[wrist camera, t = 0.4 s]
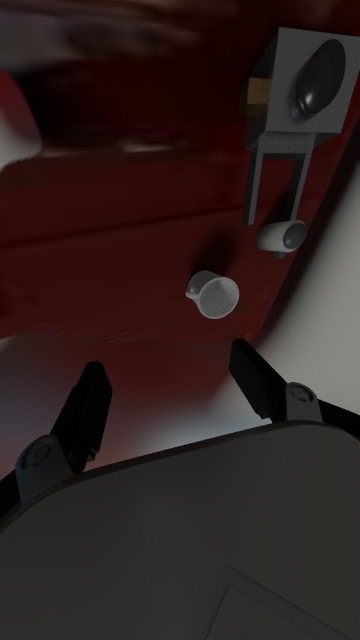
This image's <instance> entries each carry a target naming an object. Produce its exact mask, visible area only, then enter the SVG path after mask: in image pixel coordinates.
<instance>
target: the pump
mask: <svg viewBox="0 0 360 640" xmlns="http://www.w3.org/2000/svg"><path fill="white" fill-rule="evenodd" d="M306 234H307V228H306V226H305V224H304V222H303V221H301V220H293V221H285V222H278V223H270V224H265V225H263V226H262V227H261V228H260V229H259V230H258V232H257V234H256V236H255V244H256V246H257V248H258V249H260V250H269V251H274V254H273V258H276V259H280V258H284V257H285V253H286V252H291V251H294V250H295V249H297V248H298V247H299V246H300V245H301V244H302V243H303V241H304V240H305V238H306Z"/></svg>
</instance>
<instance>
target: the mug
mask: <svg viewBox="0 0 360 640" xmlns="http://www.w3.org/2000/svg"><path fill="white" fill-rule="evenodd" d="M186 296H187V297H189V298H192V299H193V300H194V301H195V303H196V304H197V306H198V308H199V310H200V312H201V313H202V314H203V315H204V316H206V317H208V318H212V319H215V318H221V317H224V316H225V315H227V314H229V313H230V312H231V311H232V310H233V309H234V307H235V306H236V304H237V302H238V298H239V290H238V287H237V285H236V284H235V282H234V281H232V280H231V279H229V278H226V277H222V276H220V275H217V274H215V273H213V272H210V271H207V270H202V271H199V272H197V273H195V274H194V275H193V276H192V277H191V279H190V281H189V284H188V288H187V291H186Z"/></svg>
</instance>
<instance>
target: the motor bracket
mask: <svg viewBox="0 0 360 640" xmlns="http://www.w3.org/2000/svg"><path fill="white" fill-rule="evenodd" d="M359 70H360V37H354V36H346V35H339V34H331V33H323V32H315V31H307V30H299V29H291V28H283V27H279V29H278V30H277V32H276V34H275V35H274V37H273V38H272V40H271V42H270V43H269V45H268V46H267V48H266V50H265V51H264V53H263V55H262V56H261V58H260V59H259V61H258V63H257V64H256V66H255V67H254V69H253V71H252V72H251V78H249V79H248V81H247V82H246V84H245V85H244V87H243V89H242V90H241V92H240V104H239V115H247V124H246V134H245V144H244V151H250V157H249V166H248V175H247V184H246V193H245V202H244V211H243V220H242V226H243V225H252V224H253V222H254V215H255V208H256V201H257V194H258V187H259V180H260V173H261V166H262V159H295V162H294V167H293V171H292V176H291V180H290V185H289V190H288V194H287V199H286V204H285V208H284V213H283V218H282V222H285V221H293V220H295V218H296V214H297V210H298V206H299V202H300V198H301V194H302V190H303V186H304V182H305V178H306V174H307V170H308V166H309V162H310V158H311V154H312V150H313V148H314V147H316V146H318V145H319V144H321V143H323V142H325V141H327V140H328V139H330V138H332V137H334V136H336V135H337V134H339V133H341V129H342V126H343V123H344V119H345V116H346V113H347V109H348V106H349V103H350V99H351V96H352V93H353V89H354V86H355V83H356V79H357V76H358V73H359Z"/></svg>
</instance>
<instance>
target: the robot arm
mask: <svg viewBox="0 0 360 640" xmlns="http://www.w3.org/2000/svg"><path fill="white" fill-rule="evenodd" d="M229 371H230V373H231V374H232V376H233V378H234V379H235V381H236V382H237V384H238V386H239V387H240V389H241V391H242V392H243V394H244V395H245V397H246V399H247V400H248V402H249V403H250V405H251V407H252V408H253V410H254V411H255V413H256V414H258V415H259V416H260V417H261V419H265V418H270V419H271V421H272V424H267V425H263V426H259V427H255V428H251V429H246V430H243V431H238V432H234V433H230V434H226V435H222V436H218V437H214V438H210V439H206V440H202V441H198V442H194V443H190V444H186V445H182V446H178V447H174V448H170V449H166V450H162V451H159V452H155V453H151V454H147V455H143V456H139V457H135V458H132V459H128V460H124V461H120V462H116V463H113V464H109V465H106V466H102V467H98V468H95V469H91V470H89V471H86V472H84V471H83V470H84V469H85V466H86V463H87V462H91V461H94V459H95V455H96V453H98V452H99V450H100V446H101V441H102V437H103V433H104V428H105V424H106V420H107V415H108V411H109V406H110V402H111V397H112V387H111V385H110V382H109V380H108V377H107V375H106V372H105V370H104V367H103V364H102V363H101V362H100V363H99V361H92V362H88V363H87V365H86V367H85V369H84V371H83V373H82V375H81V377H80V379H79V381H78V383H77V385H75V386H74V388H73V389H72V391H71V393H70V395H69V397H68V399H67V400H66V403H65V405H64V407H63V408H62V411H61V412H60V414H59V416H58V418H57V420H56V422H55V424H54V426H53V428H52V430H51V432H50V434H46V435H43V436H41V437H39V438H37V439H36V440H34V441H33V442H32V443H30V444H29V445H28V446H27V447H26V448H25V449H24V451H23V452H22V453H21V455H20V456H19V458H18V460H17V462H16V465H15V469H14V470H13V471H12V472H11V473H9V474H8V475H7V476H6V477H5V478H3V479H2V480H1V481H0V640H360V415H358V414H356V413H353V412H350V411H348V410H345V409H343V408H340V407H338V406H335V405H332V404H330V403H327V402H325V401H322V400H319V399H317V397H316V395H315V394H314V392H313V391H312V390H311V389H310V388H308V387H307V386H305V385H302V384H300V383H296V382H290V383H288V384H287V383H286V381H285V380H284V379H283V378H282V377H281V376H280V375H279V374H278V373H277V372H276V371H275V370H274V369H273V368H272V367H271V366H270V365H269V364H268V363H267V362H266V361H265V360H264V359H263V358H262V357H261V356H260V355H259V353H258V352H257V351H256V350H255V349H254V348H253V347H252V346H251V345H250V344H249V343H248V342H247V341H246V340H245V339H244V338H239V339H235V340H234V341H233V342H232V348H231V355H230V362H229Z"/></svg>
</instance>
